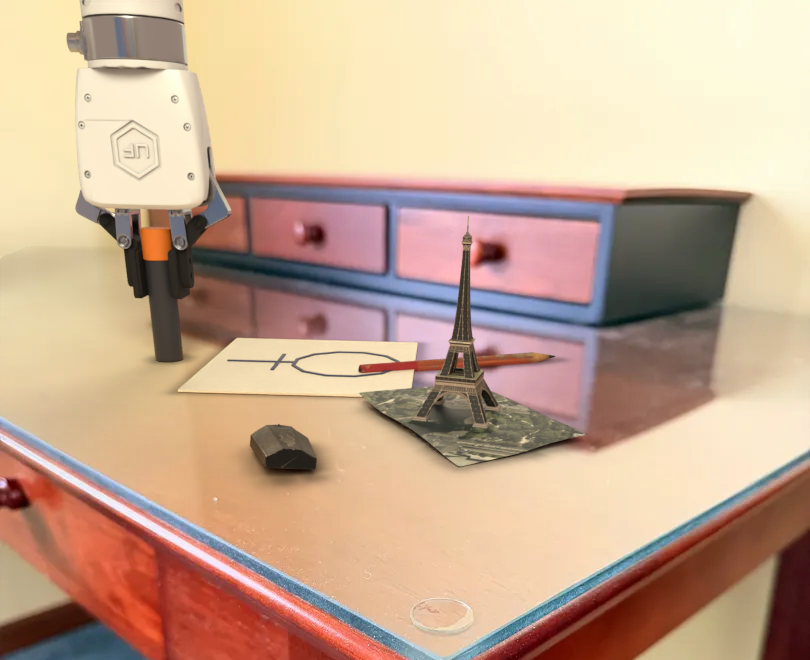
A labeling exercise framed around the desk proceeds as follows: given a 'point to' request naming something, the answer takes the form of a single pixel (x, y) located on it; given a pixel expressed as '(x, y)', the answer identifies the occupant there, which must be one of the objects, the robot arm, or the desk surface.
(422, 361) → the pencil
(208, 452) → the desk surface
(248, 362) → the paper
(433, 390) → the eiffel tower figurine
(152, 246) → the marker
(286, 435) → the block
